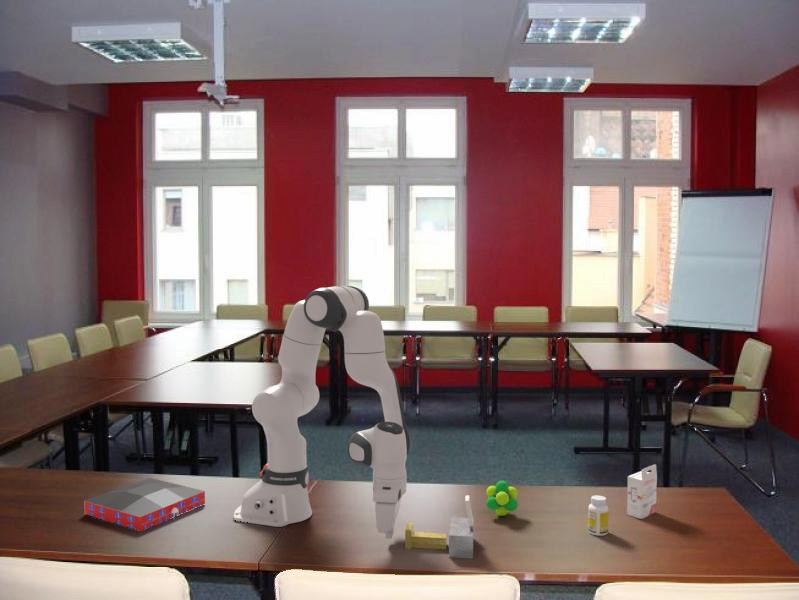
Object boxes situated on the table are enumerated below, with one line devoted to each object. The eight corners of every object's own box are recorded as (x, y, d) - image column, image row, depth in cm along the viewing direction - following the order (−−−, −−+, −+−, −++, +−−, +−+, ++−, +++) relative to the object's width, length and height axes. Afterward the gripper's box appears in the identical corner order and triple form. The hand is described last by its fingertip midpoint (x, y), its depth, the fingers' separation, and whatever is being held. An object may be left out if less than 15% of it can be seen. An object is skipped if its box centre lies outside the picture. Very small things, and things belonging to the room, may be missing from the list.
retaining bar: (469, 529, 183) (465, 500, 182) (470, 523, 186) (465, 495, 186) (473, 529, 182) (468, 500, 182) (473, 523, 186) (469, 495, 186)
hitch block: (448, 557, 179) (449, 535, 179) (451, 537, 192) (451, 516, 191) (472, 558, 179) (473, 536, 178) (473, 538, 191) (473, 517, 191)
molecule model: (501, 498, 214) (483, 486, 211) (520, 488, 210) (502, 476, 207) (501, 520, 208) (483, 508, 205) (520, 510, 204) (502, 498, 201)
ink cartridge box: (641, 508, 215) (642, 460, 213) (656, 512, 211) (658, 464, 210) (625, 514, 209) (627, 465, 208) (641, 519, 205) (642, 469, 204)
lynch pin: (405, 548, 184) (405, 530, 184) (407, 540, 189) (407, 522, 189) (445, 551, 183) (445, 532, 183) (446, 543, 188) (446, 524, 188)
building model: (143, 534, 193) (142, 511, 193) (83, 516, 206) (83, 494, 205) (207, 507, 214) (207, 485, 213) (150, 492, 226) (149, 472, 226)
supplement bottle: (608, 530, 197) (609, 495, 197) (607, 537, 192) (608, 502, 192) (588, 527, 199) (589, 493, 198) (586, 534, 194) (587, 499, 193)
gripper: (383, 472, 197) (383, 520, 198) (371, 497, 177) (371, 551, 178) (405, 473, 196) (405, 522, 197) (396, 499, 176) (396, 553, 177)
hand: (389, 536), depth 187 cm, fingers closed
